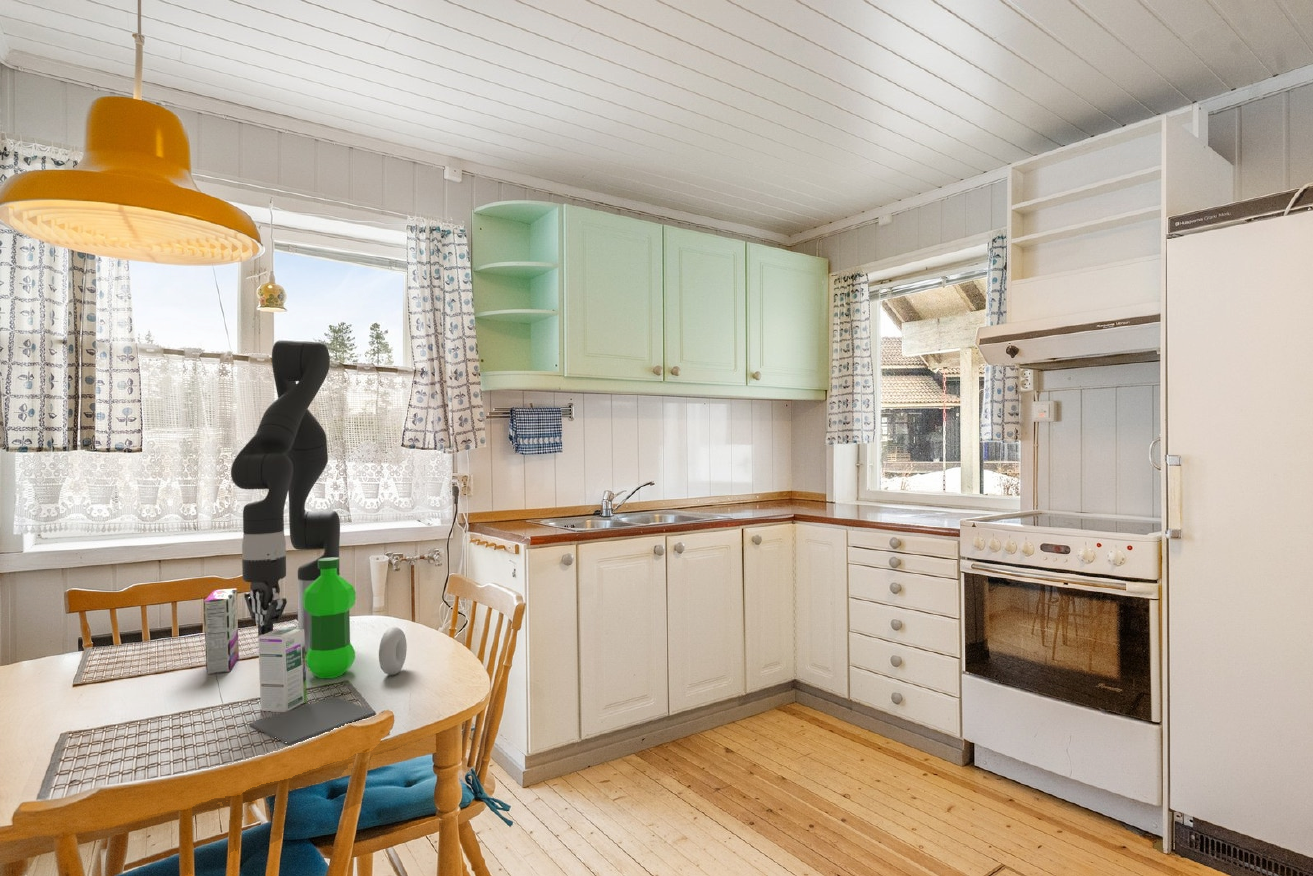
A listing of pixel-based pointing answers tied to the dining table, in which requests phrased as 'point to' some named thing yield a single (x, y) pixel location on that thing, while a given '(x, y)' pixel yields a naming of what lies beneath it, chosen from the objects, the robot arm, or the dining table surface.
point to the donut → (392, 651)
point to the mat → (311, 719)
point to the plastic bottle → (329, 621)
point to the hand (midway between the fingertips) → (265, 643)
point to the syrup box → (282, 669)
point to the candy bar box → (221, 631)
